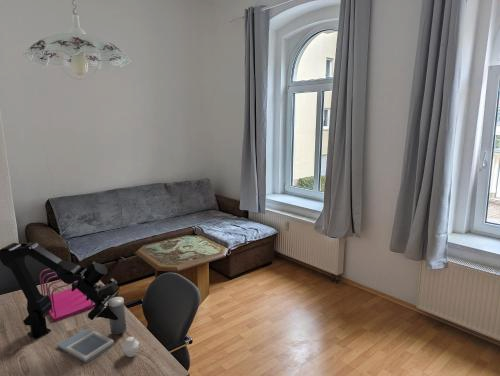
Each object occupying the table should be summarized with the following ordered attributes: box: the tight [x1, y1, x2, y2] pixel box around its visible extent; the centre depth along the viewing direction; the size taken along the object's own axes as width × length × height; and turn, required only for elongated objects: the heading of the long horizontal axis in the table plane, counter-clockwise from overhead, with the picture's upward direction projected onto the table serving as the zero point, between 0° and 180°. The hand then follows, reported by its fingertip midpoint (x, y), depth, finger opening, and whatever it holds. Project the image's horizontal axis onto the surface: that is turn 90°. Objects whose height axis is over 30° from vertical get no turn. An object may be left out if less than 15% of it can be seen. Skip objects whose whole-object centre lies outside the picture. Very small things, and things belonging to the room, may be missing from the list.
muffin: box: [121, 336, 140, 358], centre depth 131 cm, size 6×6×7 cm
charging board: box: [56, 328, 115, 364], centre depth 137 cm, size 18×12×2 cm, turn 59°
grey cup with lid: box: [107, 296, 127, 335], centre depth 143 cm, size 6×6×13 cm
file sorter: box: [39, 268, 95, 323], centre depth 167 cm, size 17×25×16 cm
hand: (120, 315), depth 143 cm, fingers closed on grey cup with lid, 6 cm apart
